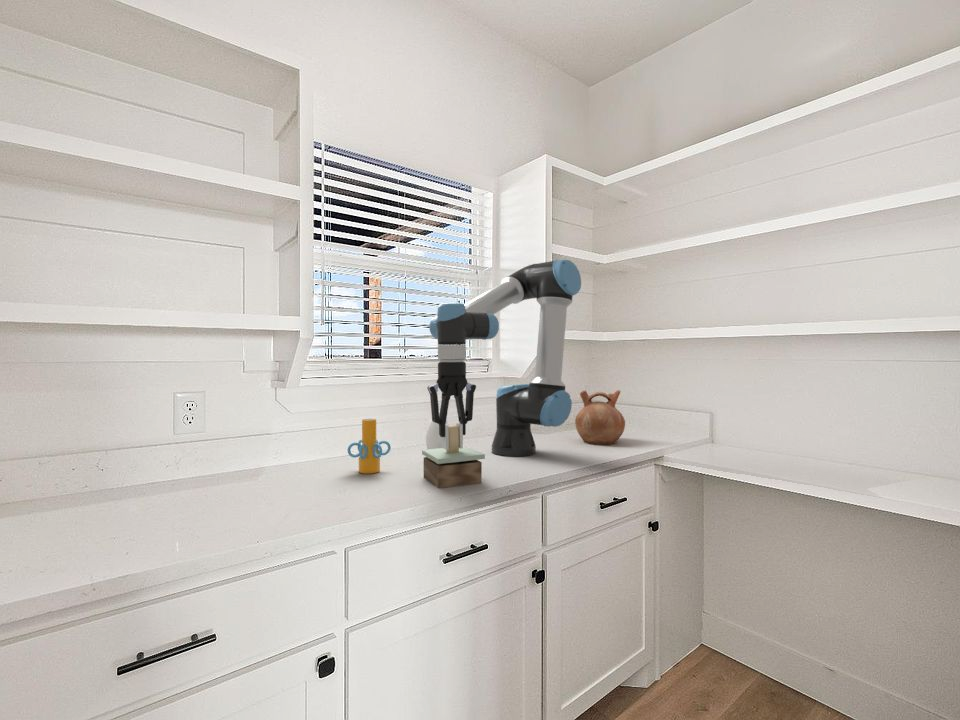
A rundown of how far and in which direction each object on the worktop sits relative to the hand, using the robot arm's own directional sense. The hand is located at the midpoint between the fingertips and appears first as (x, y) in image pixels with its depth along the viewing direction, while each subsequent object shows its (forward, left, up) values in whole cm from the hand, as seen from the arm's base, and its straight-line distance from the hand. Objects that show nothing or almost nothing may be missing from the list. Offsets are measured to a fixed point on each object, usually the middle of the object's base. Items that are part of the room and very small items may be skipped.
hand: (452, 448), depth 135 cm
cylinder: (+18, -19, -9) cm, 28 cm away
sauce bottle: (-6, -27, -9) cm, 29 cm away
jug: (-72, -29, -9) cm, 78 cm away
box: (0, 0, -9) cm, 9 cm away
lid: (0, 0, -2) cm, 2 cm away
